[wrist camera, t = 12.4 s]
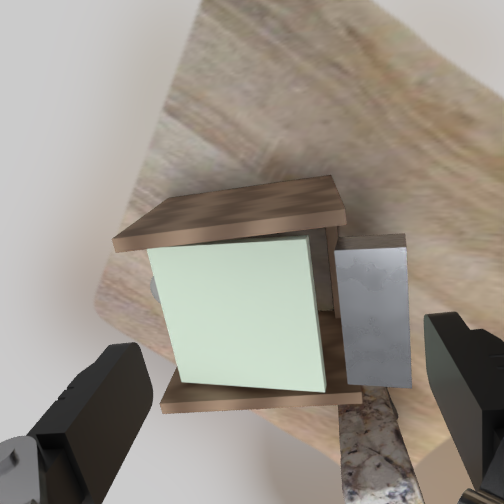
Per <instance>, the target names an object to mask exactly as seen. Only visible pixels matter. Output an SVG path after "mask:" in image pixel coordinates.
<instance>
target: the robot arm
mask: <svg viewBox="0 0 504 504" xmlns="http://www.w3.org/2000/svg"><path fill="white" fill-rule="evenodd" d="M424 337H425V355H426V369H427V375H428V380H429V384H430V387H431V390H432V393H433V395H434V397H435V399H436V402H437V404H438V406H439V409H440V411H441V413H442V415H443V418H444V420H445V422H446V425H447V427H448V429H449V431H450V434H451V436H452V438H453V441H454V443H455V445H456V447H457V450H458V452H459V454H460V456H461V459H462V461H463V463H464V466H465V468H466V470H467V473H468V475H469V477H470V479H471V482H472V484H473V486H474V489H475V491H474V490H472V489H467V490H465V491H464V493H463V494H462V496H461V498H460V499H459V501H458V503H457V504H504V342H503V341H502V340H501V339H500V338H498V337H496V336H494V335H493V334H491V333H489V332H487V331H486V330H484V329H476V330H470V329H469V328H468V327H467V325H466V324H465V322H464V321H463V320H462V318H461V317H460V315H459V314H458V313H457V312H445V313H435V314H426V315H425V316H424ZM152 402H153V388H152V384H151V381H150V377H149V374H148V371H147V368H146V365H145V362H144V358H143V355H142V352H141V349H140V347H139V345H138V344H137V343H135V342H132V343H122V344H112V345H109V346H108V347H107V348H106V349H105V350H104V352H103V353H102V354H101V355H100V356H99V358H98V359H97V360H96V361H95V363H93V364H91V365H90V366H89V367H87V368H86V369H85V370H83V371H82V372H81V373H79V374H78V375H77V376H76V377H75V378H74V380H73V381H72V382H71V383H70V384H69V385H68V387H67V390H64V391H63V393H62V394H61V395H60V396H59V397H58V400H57V401H55V402H54V403H53V404H52V406H51V407H50V408H49V409H48V410H47V411H46V413H45V414H44V415H43V416H42V417H41V418H40V420H39V421H38V422H37V423H36V424H35V426H34V427H33V428H32V429H31V430H30V431H29V433H28V434H27V435H26V436H18V437H14V438H11V439H8V440H6V441H3V442H1V443H0V504H102V502H103V500H104V498H105V497H106V495H107V492H108V491H109V489H110V487H111V485H112V483H113V481H114V479H115V477H116V475H117V473H118V471H119V469H120V467H121V465H122V463H123V461H124V459H125V457H126V456H127V454H128V452H129V450H130V448H131V445H132V444H133V441H134V440H135V438H136V436H137V434H138V432H139V430H140V428H141V426H142V424H143V422H144V420H145V418H146V417H147V415H148V413H149V411H150V409H151V406H152Z"/></svg>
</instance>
